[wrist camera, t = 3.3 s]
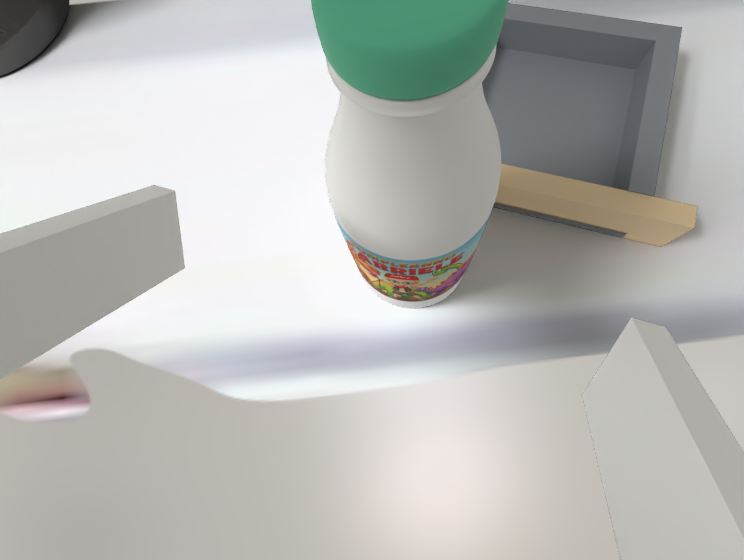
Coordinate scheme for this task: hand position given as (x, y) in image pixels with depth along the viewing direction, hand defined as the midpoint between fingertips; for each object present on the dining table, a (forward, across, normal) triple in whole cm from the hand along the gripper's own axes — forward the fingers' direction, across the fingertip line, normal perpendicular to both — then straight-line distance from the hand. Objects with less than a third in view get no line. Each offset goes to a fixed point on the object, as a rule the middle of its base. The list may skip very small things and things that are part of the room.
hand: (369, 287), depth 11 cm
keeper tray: (+25, +5, +3) cm, 25 cm away
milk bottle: (+16, -1, -7) cm, 17 cm away
